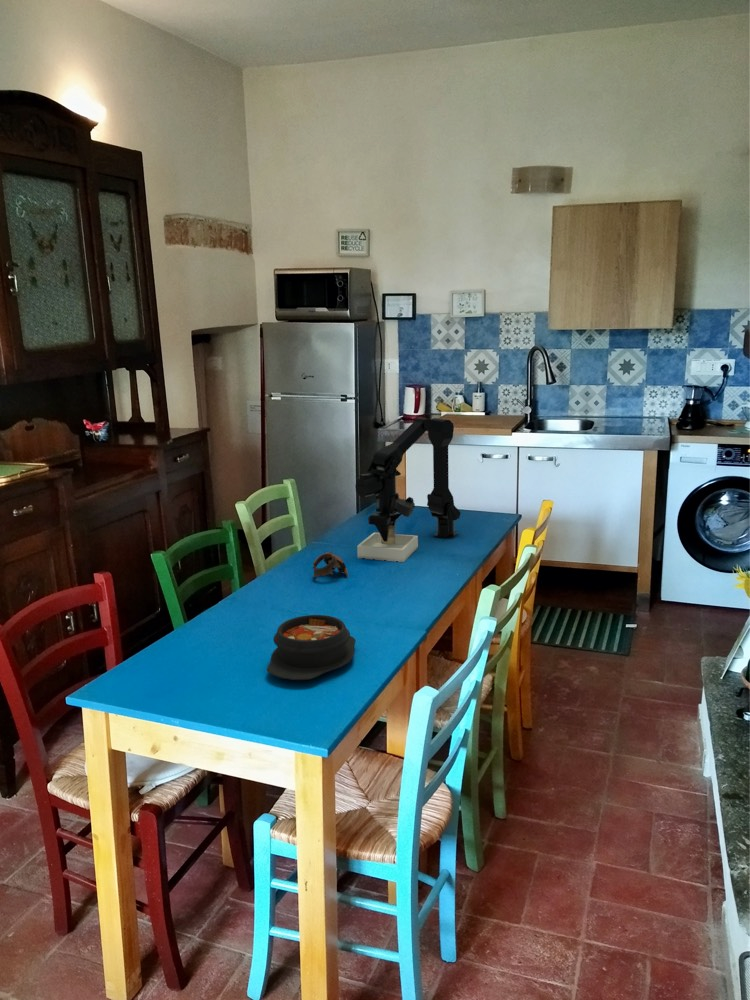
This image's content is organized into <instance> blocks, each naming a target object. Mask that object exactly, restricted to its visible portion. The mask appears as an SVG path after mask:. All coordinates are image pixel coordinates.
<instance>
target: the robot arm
mask: <svg viewBox="0 0 750 1000" xmlns="http://www.w3.org/2000/svg"><path fill="white" fill-rule="evenodd" d="M454 429H455V426H454V423H453V422H452V420H451V419H445V418H437V417H433V418H431V419H429V418H427V417H421V416H418V417H416V418H414V420H413V422H412V423H411V424H410V425H408V427H406V429H405V430H404V431H403V432H402V433H401V434H400V435H399V436H398V437H397V438H396V439H395V440H393V442H391V443H390V444H387V445H386V446H383V447H382V448H380V449H379V450H377V451H376V452H375V453H374V454H373V456H372V457H373V458H372V460H371V463H370V464H369V466H368V468H367V470H366V473H364V474H363V473H362V474H359V478H358V479H357V480H356V482H355V486H354V487H355V492H356V493H357V495H358V496H359V497H361V498H366V497H371V496H373V495H375V499H376V500H377V507H376V508H375V512H373V513H372V514H371V515H369V516H368V518H367V521H368V522H367V525H374V526H375V528H376V529H377V531H378V533H380V535H381V537H382V539H383V541H385V542H387V540H388V533H389V526H390V525H392V526H395V527H396V524H397V520H398V519H400V518H401V516H402V515H403V516H404V517H406V518H408V517H410V515H413V512H414V509H415V508H416V506H415V501H414V498H413V497H411V496H408V497H407V498H400V494H399V493H398V492H397V486H396V485H397V484H396V483H397V481H396V477H397V476H401V475H402V474H401V472H400V471H399V470H397V469H398V467H399V466H400V464H401V462H402V461H403V457H404V455H405V453H406V452H408V450H410V448H411V447H412V446H413V445H414V444H415V443H416V442H417V441H418V440H419V439H420V438H421V437H422V436H423V435H424V434H425V433H426V432H427V436H428V439H429V441H430V443H431V445H432V456H433V457H432V463H433V467H432V469H433V470H432V471H433V488H432V491H431V492H430V493H428V494H427V495H426V498H427V503H426V506H427V507H428V510H429V511H430V515H431V517H432V518H436V528H437V529H436V532H435V534H434V535H433V536H434V537H435V538H445V539H447V538H448V539H454V537H455V536H456V535H457V534H458V531H457V530H455V521H457V520H459V519H460V517H461V511H460V510H459V509H458V508H457V507H456V505H455V501H454V500H455V499H454V496H453V493H452V492H451V490H450V488H449V485H450V484H449V482H450V481H449V445H450V443H451V442H452V440H453V437H454Z"/></svg>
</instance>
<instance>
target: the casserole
mask: <svg viewBox="0 0 750 1000" xmlns="http://www.w3.org/2000/svg"><path fill="white" fill-rule="evenodd" d="M272 638H273V641H272V642H273V643H274V645H275V646H276V648H275V649H274V650H273V652H272V653H271V655H270V661H269V664H268V666H267V667H266V672H267V673H268V674H269V675H272V676H274V677H276V678H279V679H284V680H289V681H290V680H291V681H310V680H312V679H315V678H318V677H320V676H321V675H323V674H326V673H328V672H332V671H334V670H336V669H339V668H341V667H343V666H345V665H347V664H348V663H350V662H351V661H352V659H353V658H354V656H355V645H356V639H355V637H353V636H351V632H350V630H349V629H348V628H347V627H346V624H345V623H344V621H343V620H341V619H339V618H337V617H335V616H332V615H331V616H330V615H324V614H309V615H308V614H307V615H306V614H305V615H301V616H297V617H292V618H290V619H287V620H285V621H283V622H282V623H281V624H280V625H278V627H277V630H276V633H275V634H274V636H273V637H272Z"/></svg>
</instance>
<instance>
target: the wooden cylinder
mask: <svg viewBox="0 0 750 1000" xmlns="http://www.w3.org/2000/svg"><path fill="white" fill-rule="evenodd" d="M395 534H396V525H395V526H392V525H390V526H389V533H388V540H387V542H385V541H383V539H382V537H381V543H382V544H387V545H389V544H394V543H395Z"/></svg>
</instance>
